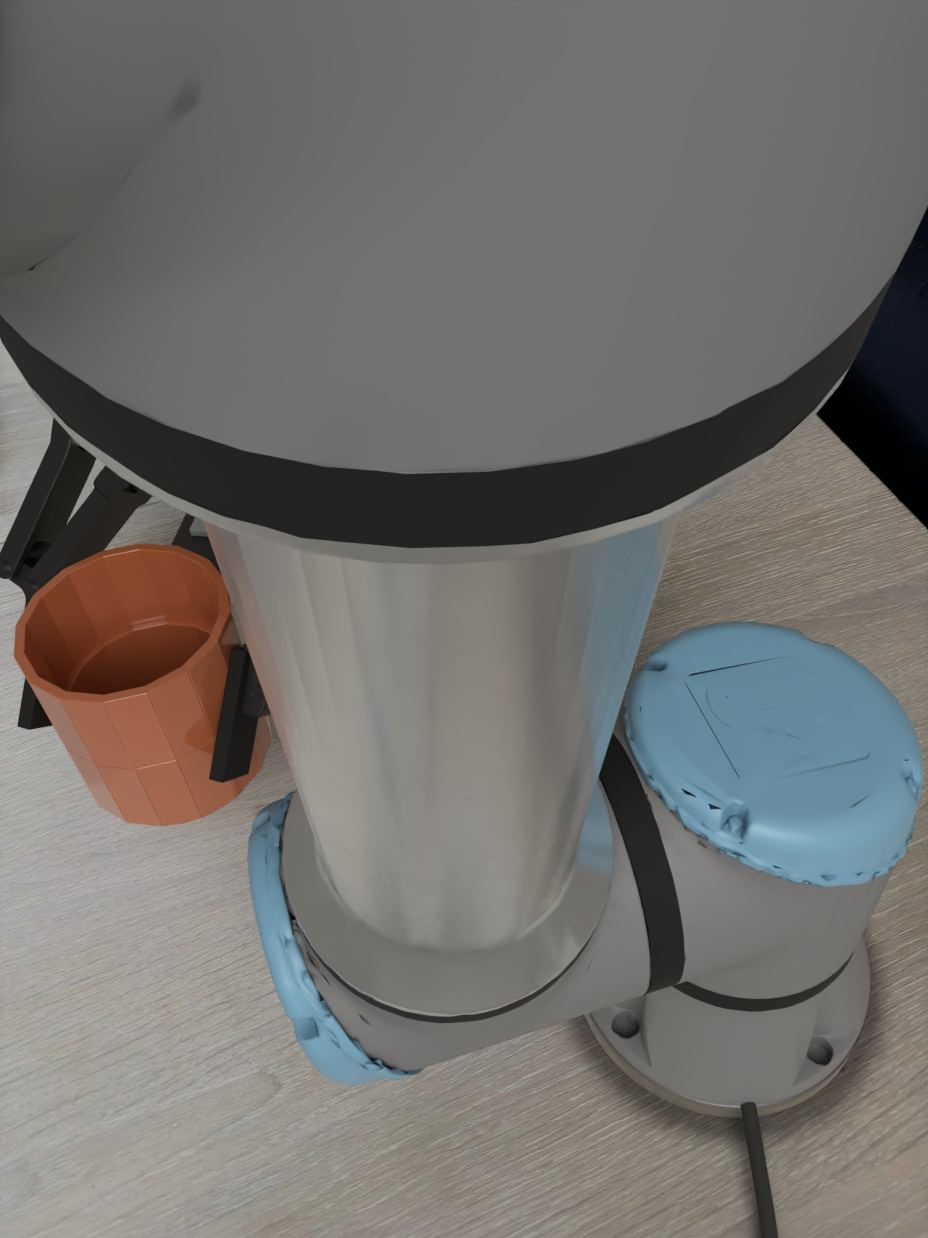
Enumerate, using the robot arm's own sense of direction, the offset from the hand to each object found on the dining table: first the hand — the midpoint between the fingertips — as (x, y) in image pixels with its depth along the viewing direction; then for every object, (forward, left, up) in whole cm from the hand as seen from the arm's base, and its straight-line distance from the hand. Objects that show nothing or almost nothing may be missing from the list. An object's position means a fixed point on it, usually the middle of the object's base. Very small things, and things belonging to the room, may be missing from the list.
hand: (132, 750), depth 56 cm
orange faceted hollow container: (+3, -1, -4) cm, 5 cm away
